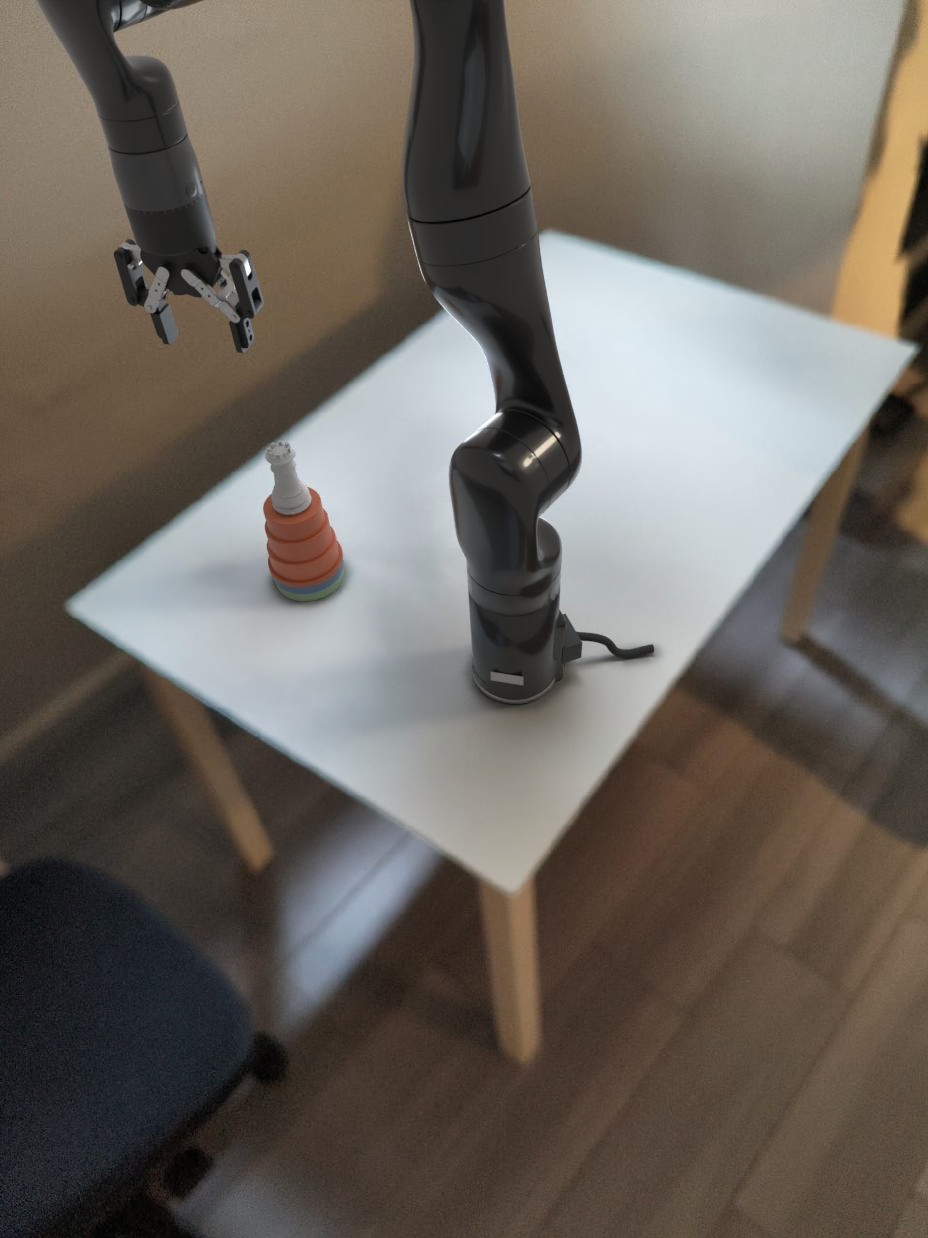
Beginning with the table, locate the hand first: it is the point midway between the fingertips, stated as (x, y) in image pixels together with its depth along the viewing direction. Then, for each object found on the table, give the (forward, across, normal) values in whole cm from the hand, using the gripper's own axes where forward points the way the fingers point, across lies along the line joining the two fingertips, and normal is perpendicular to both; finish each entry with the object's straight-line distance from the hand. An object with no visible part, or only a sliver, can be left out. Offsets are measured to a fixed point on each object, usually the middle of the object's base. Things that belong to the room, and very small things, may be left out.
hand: (207, 344), depth 97 cm
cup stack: (+28, -8, +5) cm, 30 cm away
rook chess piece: (+16, -8, +5) cm, 19 cm away
